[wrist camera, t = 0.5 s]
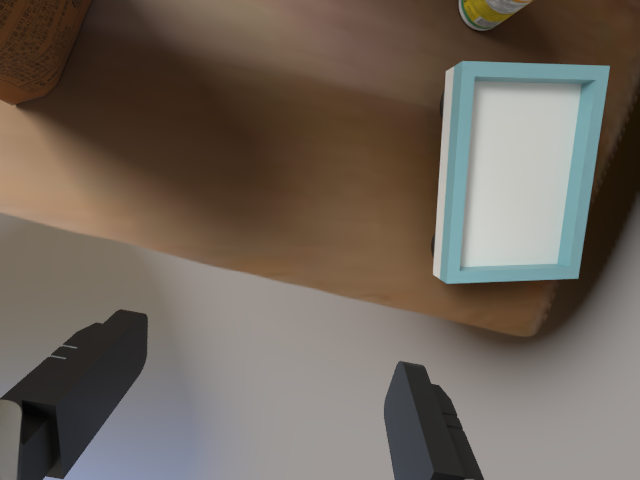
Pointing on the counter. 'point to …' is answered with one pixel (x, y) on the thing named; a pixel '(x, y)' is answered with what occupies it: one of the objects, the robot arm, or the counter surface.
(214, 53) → the counter surface
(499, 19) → the supplement bottle
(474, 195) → the shallow teal tray
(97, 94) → the counter surface
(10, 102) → the pancake mix bag
